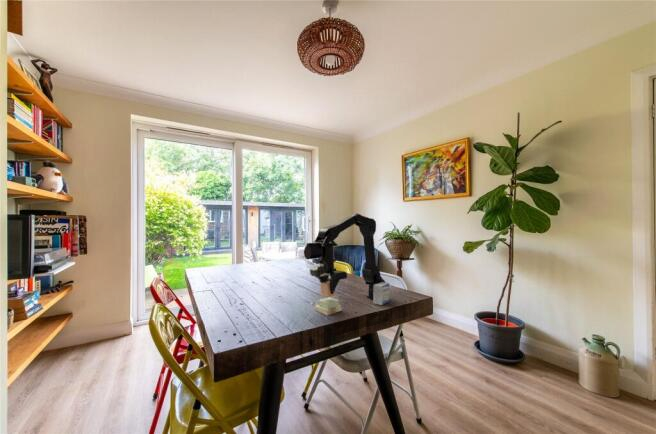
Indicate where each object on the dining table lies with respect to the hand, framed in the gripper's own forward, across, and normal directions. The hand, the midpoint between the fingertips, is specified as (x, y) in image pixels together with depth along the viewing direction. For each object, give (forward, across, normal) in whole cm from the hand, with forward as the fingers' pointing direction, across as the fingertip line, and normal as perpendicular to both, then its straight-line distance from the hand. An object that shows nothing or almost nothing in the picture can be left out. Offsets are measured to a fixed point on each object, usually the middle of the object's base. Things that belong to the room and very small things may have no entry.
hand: (328, 292), depth 112 cm
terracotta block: (+1, 0, 0) cm, 1 cm away
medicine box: (+8, +9, +24) cm, 27 cm away
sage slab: (+6, 0, 0) cm, 6 cm away
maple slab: (+8, 0, 0) cm, 8 cm away
